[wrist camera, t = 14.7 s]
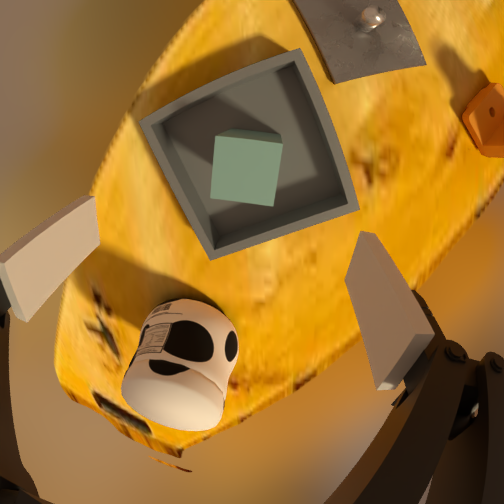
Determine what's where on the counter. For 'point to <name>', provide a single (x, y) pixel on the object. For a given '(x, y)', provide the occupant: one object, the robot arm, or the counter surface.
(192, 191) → the bin
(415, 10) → the counter surface
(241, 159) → the green rectangular block
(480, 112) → the bracket
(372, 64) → the base
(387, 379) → the robot arm
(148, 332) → the milk container
